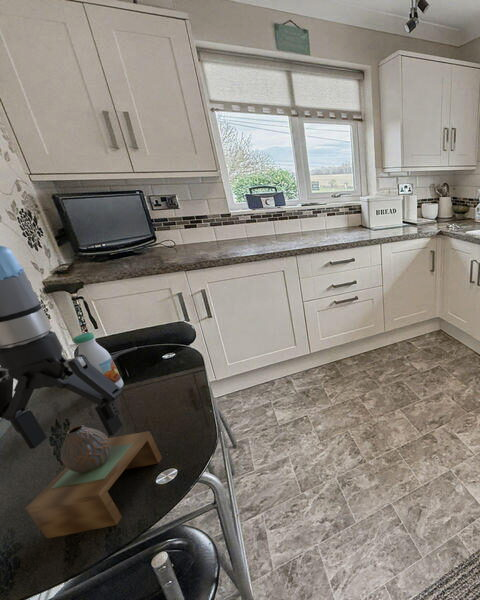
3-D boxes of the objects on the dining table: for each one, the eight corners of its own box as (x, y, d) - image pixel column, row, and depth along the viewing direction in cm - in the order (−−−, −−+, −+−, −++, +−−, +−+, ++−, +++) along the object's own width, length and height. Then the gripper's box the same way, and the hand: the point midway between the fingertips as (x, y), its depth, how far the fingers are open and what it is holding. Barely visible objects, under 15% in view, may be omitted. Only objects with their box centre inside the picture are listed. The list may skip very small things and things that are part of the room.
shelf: (46, 539, 60) (24, 507, 57) (107, 468, 75) (91, 440, 72) (116, 525, 61) (98, 493, 58) (162, 457, 76) (149, 430, 73)
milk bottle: (103, 399, 102) (74, 342, 95) (89, 395, 105) (60, 340, 98) (129, 384, 109) (104, 330, 102) (115, 381, 112) (90, 329, 105)
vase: (73, 464, 66) (52, 429, 63) (116, 445, 70) (99, 411, 67) (69, 485, 61) (46, 449, 57) (116, 464, 64) (97, 428, 61)
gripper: (117, 319, 60) (157, 412, 67) (-36, 339, 57) (24, 434, 65) (86, 337, 53) (135, 439, 61) (-89, 361, 50) (-15, 464, 58)
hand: (78, 436), depth 63 cm, fingers open, 13 cm apart
